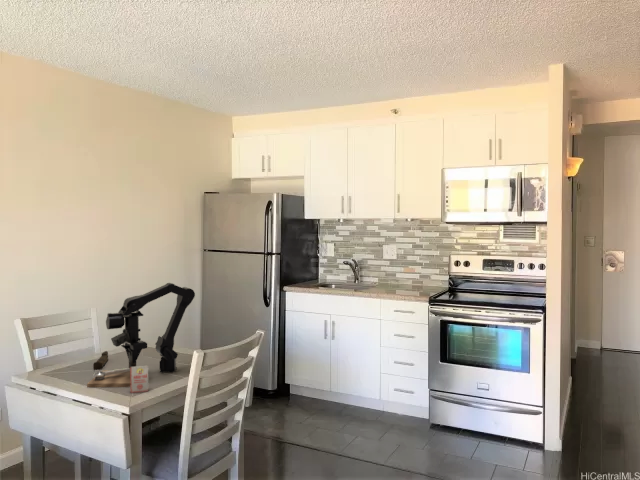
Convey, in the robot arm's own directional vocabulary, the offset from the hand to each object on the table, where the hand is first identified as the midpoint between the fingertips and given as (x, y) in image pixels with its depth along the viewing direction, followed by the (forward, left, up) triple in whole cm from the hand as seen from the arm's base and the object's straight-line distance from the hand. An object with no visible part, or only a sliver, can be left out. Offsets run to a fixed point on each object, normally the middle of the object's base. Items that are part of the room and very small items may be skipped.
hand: (132, 362), depth 235 cm
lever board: (+4, +5, -7) cm, 9 cm away
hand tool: (+20, -21, -7) cm, 30 cm away
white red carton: (-8, +19, -7) cm, 22 cm away
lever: (+6, +4, -4) cm, 8 cm away
